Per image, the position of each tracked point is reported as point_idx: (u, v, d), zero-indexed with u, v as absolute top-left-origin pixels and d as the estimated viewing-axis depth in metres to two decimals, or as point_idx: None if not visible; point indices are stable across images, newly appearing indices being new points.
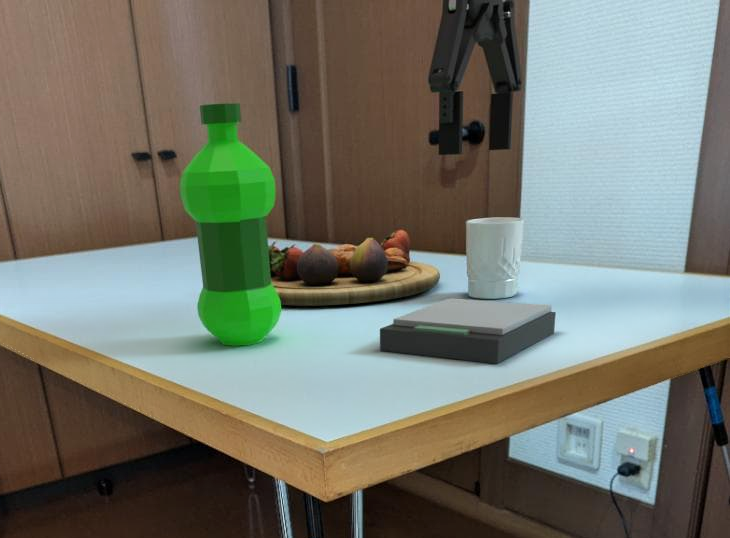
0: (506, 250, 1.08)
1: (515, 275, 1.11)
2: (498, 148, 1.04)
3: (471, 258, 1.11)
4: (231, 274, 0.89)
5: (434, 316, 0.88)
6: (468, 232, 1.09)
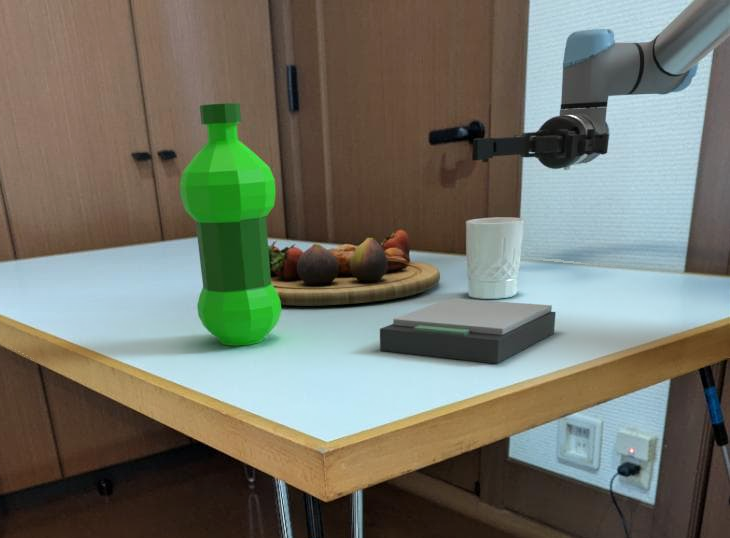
0: (506, 249, 1.08)
1: (515, 275, 1.11)
2: (566, 147, 1.10)
3: (471, 258, 1.11)
4: (231, 274, 0.89)
5: (434, 316, 0.88)
6: (468, 232, 1.09)
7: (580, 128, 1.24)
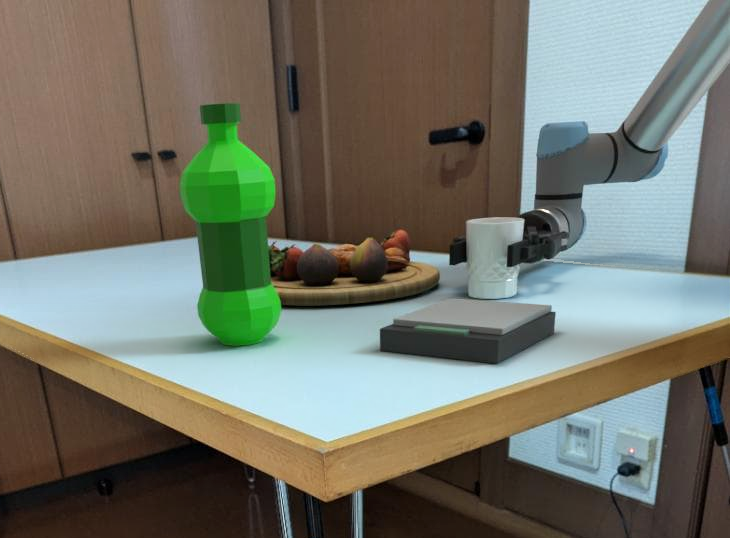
0: (506, 250, 1.08)
1: (515, 275, 1.11)
2: (507, 256, 1.06)
3: (471, 258, 1.10)
4: (231, 274, 0.89)
5: (434, 316, 0.88)
6: (469, 232, 1.09)
7: (551, 224, 1.20)
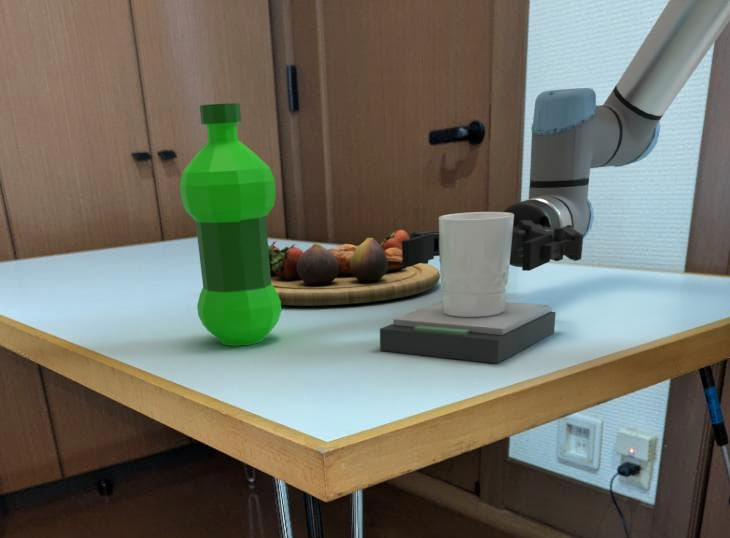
0: (490, 254, 0.83)
1: (502, 287, 0.86)
2: (523, 256, 0.81)
3: (445, 265, 0.85)
4: (231, 274, 0.89)
5: (434, 316, 0.88)
6: (442, 231, 0.84)
7: (550, 218, 0.95)
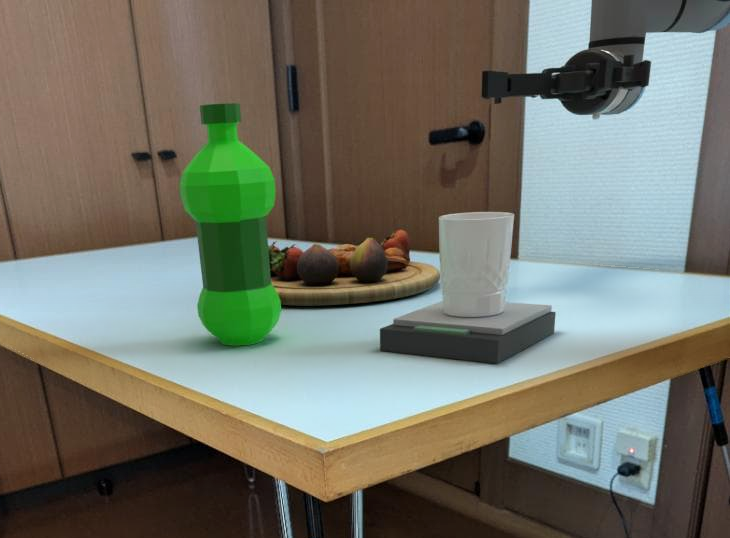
0: (490, 254, 0.83)
1: (502, 287, 0.86)
2: (599, 73, 0.88)
3: (445, 265, 0.85)
4: (231, 274, 0.89)
5: (434, 316, 0.88)
6: (442, 231, 0.84)
7: None
